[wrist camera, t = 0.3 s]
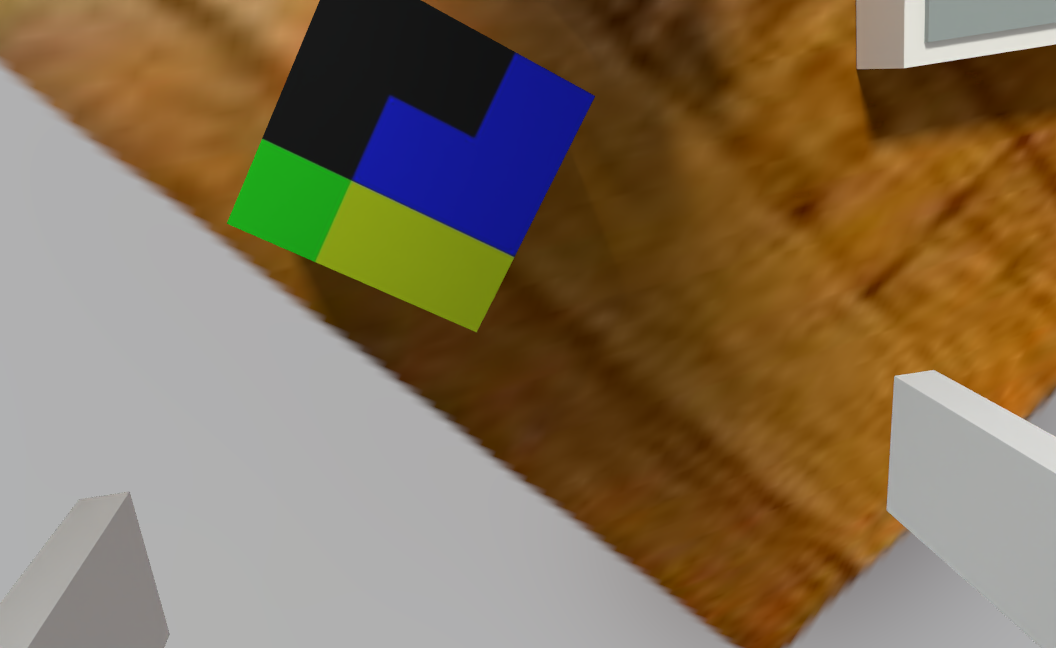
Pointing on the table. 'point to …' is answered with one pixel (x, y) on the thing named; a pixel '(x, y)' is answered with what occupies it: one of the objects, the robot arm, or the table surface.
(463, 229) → the puzzle toy
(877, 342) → the table surface
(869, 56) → the plinth
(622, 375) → the table surface
